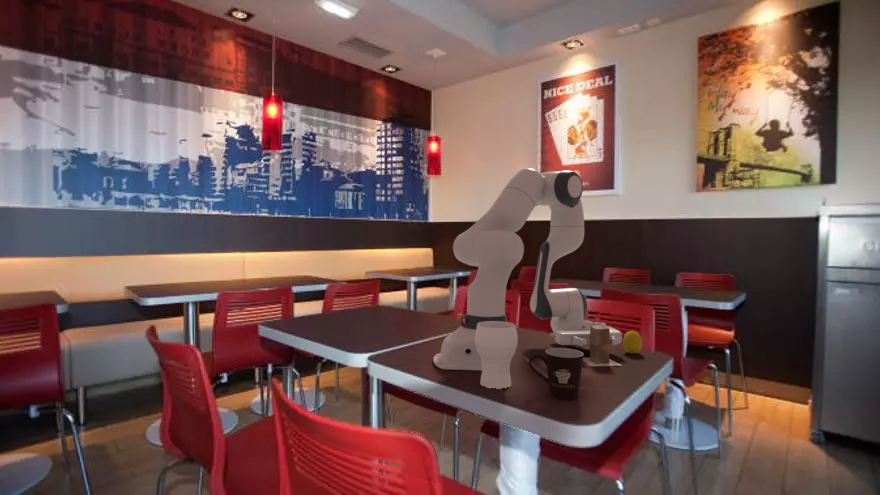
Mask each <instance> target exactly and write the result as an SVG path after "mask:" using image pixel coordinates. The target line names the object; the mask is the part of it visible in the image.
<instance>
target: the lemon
mask: <svg viewBox="0 0 880 495" xmlns="http://www.w3.org/2000/svg"><path fill="white" fill-rule="evenodd" d="M622 346H623V348H624V350H625V352H627V353H629V354H631V355H635V354H638V353H639V352H640V351H641V350H642V346H643V340H642V337H641V335H640V334H639V333H638V332H637V331H635V330H633V329H631V330H630V331H627V332H626V333H625V334H624V336H623V337H622Z"/></svg>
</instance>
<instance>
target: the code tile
mask: <svg viewBox="0 0 880 495" xmlns="http://www.w3.org/2000/svg"><path fill="white" fill-rule="evenodd" d="M583 363H586V364H587V365H589V366H590V367H613V366H615V367H616V366H622V364H620V363H618V362H616V361H615V360H612V359H611V358H609V363H594V362H593V361H591V360H590V357H583Z"/></svg>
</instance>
